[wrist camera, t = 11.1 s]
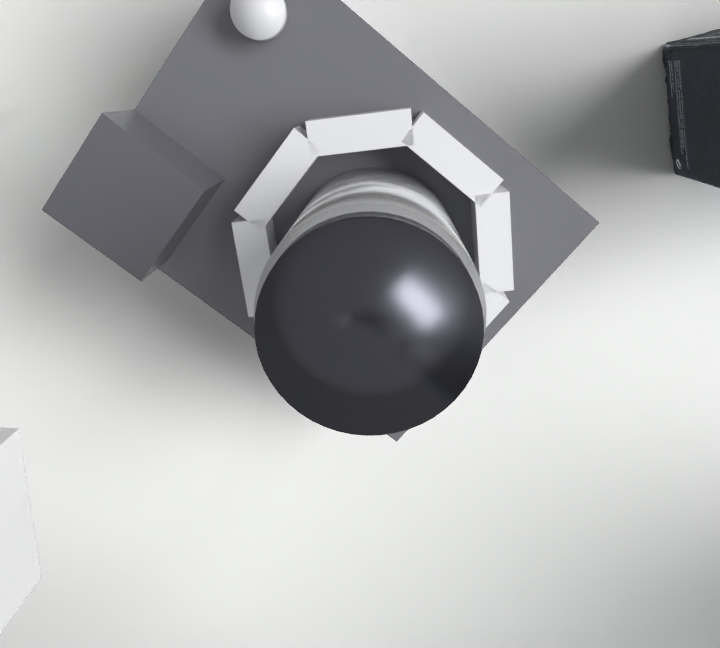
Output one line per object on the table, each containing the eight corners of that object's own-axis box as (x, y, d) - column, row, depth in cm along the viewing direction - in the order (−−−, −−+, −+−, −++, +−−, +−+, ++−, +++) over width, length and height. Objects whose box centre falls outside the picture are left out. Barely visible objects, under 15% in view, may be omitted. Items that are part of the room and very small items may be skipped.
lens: (437, 331, 27) (465, 458, 17) (288, 307, 27) (234, 423, 17) (468, 180, 25) (517, 231, 16) (307, 154, 25) (259, 190, 15)
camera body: (550, 191, 33) (626, 239, 23) (394, 367, 36) (397, 480, 26) (286, -35, 30) (233, -99, 20) (143, 179, 33) (35, 221, 23)
